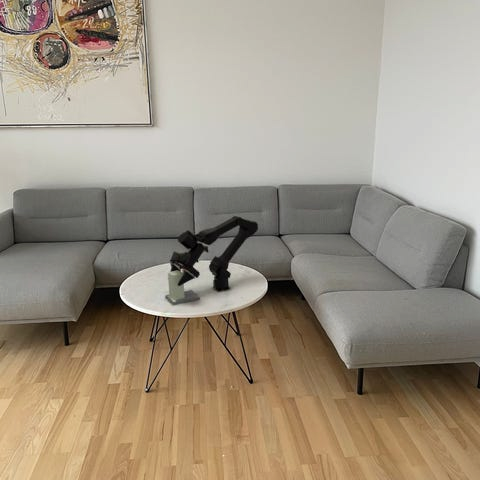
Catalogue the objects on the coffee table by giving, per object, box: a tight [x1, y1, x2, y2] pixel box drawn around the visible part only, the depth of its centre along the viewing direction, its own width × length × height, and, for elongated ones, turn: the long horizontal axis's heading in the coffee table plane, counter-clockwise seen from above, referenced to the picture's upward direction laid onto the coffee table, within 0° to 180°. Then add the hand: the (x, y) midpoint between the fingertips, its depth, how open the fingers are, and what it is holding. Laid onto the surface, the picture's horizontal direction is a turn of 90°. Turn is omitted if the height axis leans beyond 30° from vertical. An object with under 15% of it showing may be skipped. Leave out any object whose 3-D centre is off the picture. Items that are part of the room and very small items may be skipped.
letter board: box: [165, 289, 201, 306], centre depth 205 cm, size 13×10×1 cm
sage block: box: [167, 270, 185, 301], centre depth 201 cm, size 5×5×12 cm
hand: (173, 282), depth 199 cm, fingers open, 9 cm apart
